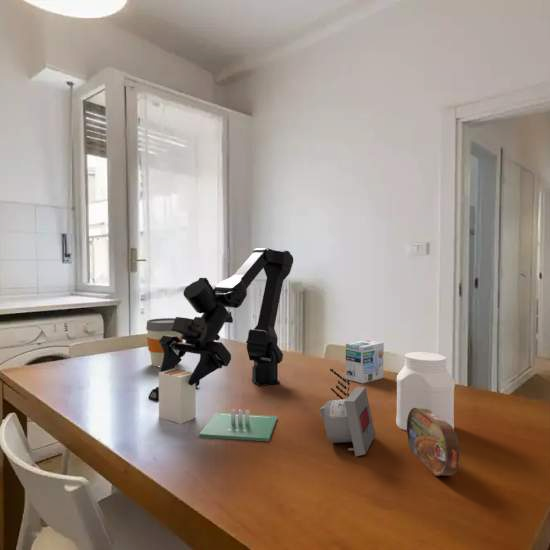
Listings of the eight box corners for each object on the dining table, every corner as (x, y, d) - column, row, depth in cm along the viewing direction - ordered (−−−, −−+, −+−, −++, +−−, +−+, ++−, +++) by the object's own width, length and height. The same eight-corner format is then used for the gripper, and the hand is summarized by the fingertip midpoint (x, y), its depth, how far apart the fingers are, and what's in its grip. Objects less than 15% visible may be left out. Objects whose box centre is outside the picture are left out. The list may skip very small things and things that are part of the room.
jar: (460, 427, 88) (461, 356, 88) (443, 441, 81) (444, 364, 80) (408, 413, 96) (408, 349, 95) (388, 425, 88) (389, 355, 88)
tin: (405, 444, 79) (405, 401, 79) (420, 444, 79) (421, 400, 79) (443, 486, 64) (444, 432, 64) (463, 486, 64) (463, 432, 64)
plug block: (173, 411, 96) (173, 367, 96) (195, 417, 93) (195, 372, 92) (158, 417, 93) (158, 371, 93) (180, 423, 89) (180, 376, 89)
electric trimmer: (203, 389, 116) (203, 377, 116) (156, 402, 103) (156, 390, 103) (194, 386, 118) (194, 375, 118) (147, 399, 106) (147, 387, 106)
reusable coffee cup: (167, 358, 151) (167, 317, 151) (191, 363, 144) (191, 320, 144) (138, 364, 141) (138, 320, 141) (162, 370, 134) (162, 324, 133)
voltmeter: (393, 455, 75) (394, 401, 74) (332, 461, 72) (333, 404, 72) (341, 406, 101) (342, 365, 101) (296, 409, 99) (296, 367, 98)
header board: (215, 415, 94) (215, 399, 94) (277, 418, 92) (277, 402, 92) (198, 436, 82) (198, 418, 82) (268, 441, 80) (269, 422, 80)
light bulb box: (362, 384, 119) (363, 346, 119) (344, 379, 125) (344, 343, 124) (384, 377, 127) (384, 342, 126) (366, 373, 132) (366, 339, 131)
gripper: (164, 301, 101) (126, 354, 92) (223, 306, 91) (185, 366, 82) (188, 330, 108) (154, 381, 99) (245, 337, 98) (212, 395, 89)
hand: (174, 381), depth 92 cm, fingers open, 9 cm apart
